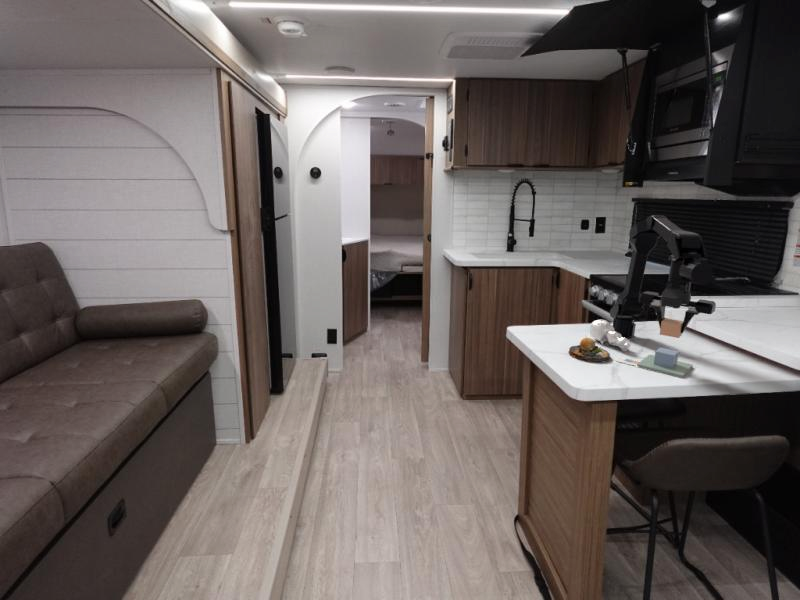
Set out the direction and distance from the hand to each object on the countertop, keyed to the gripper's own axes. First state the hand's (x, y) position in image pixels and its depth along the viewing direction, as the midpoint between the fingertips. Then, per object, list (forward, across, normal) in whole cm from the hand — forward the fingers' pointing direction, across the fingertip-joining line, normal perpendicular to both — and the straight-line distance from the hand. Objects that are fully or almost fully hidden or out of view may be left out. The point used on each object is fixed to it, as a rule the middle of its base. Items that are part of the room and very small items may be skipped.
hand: (671, 330), depth 143 cm
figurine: (+11, -20, +9) cm, 25 cm away
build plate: (+11, 0, 0) cm, 11 cm away
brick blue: (+10, 0, 0) cm, 10 cm away
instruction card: (+11, -8, -3) cm, 14 cm away
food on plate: (+12, -20, -7) cm, 24 cm away
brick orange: (+1, 0, 0) cm, 1 cm away
